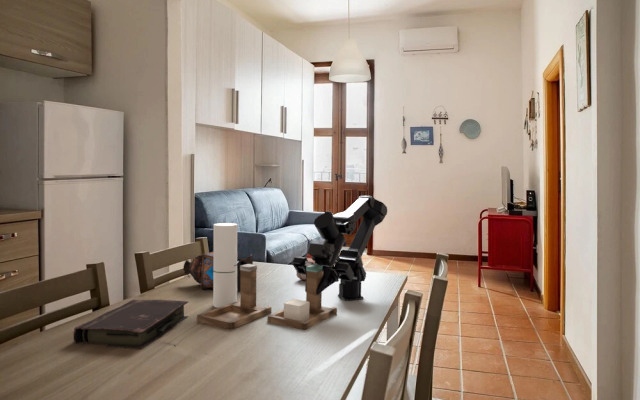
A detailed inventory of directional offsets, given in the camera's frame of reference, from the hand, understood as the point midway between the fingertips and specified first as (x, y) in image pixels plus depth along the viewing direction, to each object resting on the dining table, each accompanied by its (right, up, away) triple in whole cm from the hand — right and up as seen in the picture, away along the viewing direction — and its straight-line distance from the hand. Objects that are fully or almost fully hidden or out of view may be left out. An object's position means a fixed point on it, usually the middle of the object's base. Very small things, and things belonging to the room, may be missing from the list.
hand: (311, 292), depth 137 cm
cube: (-4, -6, -6) cm, 10 cm away
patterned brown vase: (-34, -5, +34) cm, 49 cm away
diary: (-45, -8, -12) cm, 47 cm away
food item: (-1, -4, +49) cm, 49 cm away
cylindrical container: (-27, -6, +11) cm, 30 cm away
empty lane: (-21, -7, -4) cm, 22 cm away
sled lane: (-2, -7, -3) cm, 8 cm away
